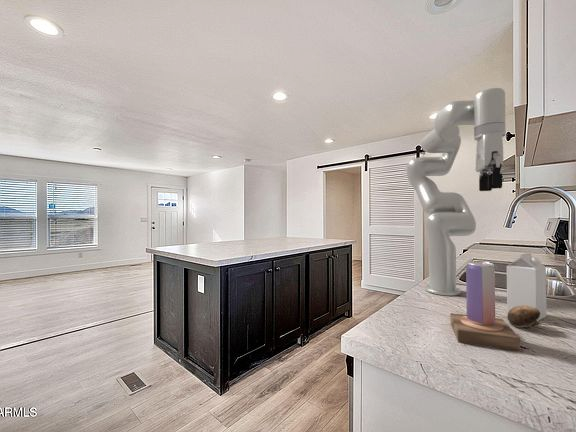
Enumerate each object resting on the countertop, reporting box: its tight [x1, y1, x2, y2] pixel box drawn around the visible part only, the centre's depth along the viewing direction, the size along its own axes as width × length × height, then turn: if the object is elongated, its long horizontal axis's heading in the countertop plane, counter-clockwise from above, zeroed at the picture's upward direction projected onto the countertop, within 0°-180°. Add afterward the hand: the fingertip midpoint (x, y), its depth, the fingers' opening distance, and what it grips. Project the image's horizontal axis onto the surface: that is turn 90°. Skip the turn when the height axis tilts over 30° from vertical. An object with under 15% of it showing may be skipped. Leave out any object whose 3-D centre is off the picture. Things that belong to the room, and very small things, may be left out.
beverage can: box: [465, 260, 496, 326], centre depth 69 cm, size 6×6×15 cm
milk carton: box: [506, 251, 547, 322], centre depth 82 cm, size 7×7×19 cm
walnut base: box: [449, 312, 521, 352], centre depth 69 cm, size 12×12×4 cm
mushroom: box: [507, 306, 542, 329], centre depth 74 cm, size 8×8×6 cm
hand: (490, 189), depth 81 cm, fingers open, 9 cm apart
